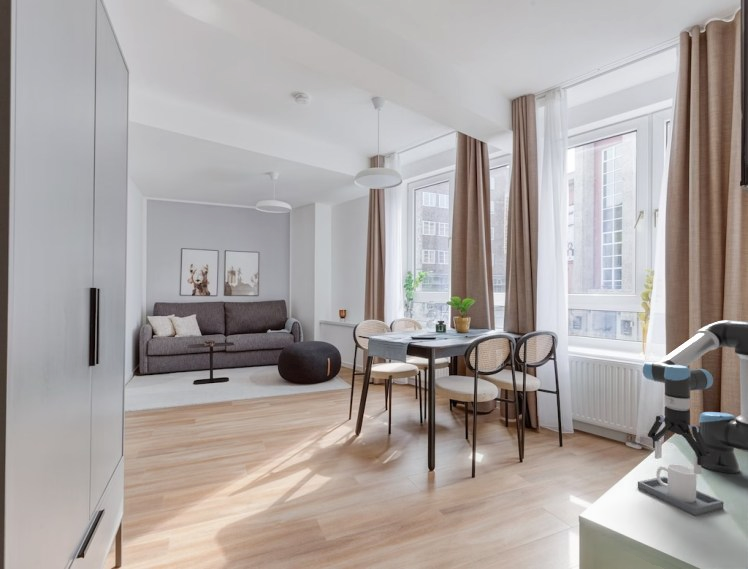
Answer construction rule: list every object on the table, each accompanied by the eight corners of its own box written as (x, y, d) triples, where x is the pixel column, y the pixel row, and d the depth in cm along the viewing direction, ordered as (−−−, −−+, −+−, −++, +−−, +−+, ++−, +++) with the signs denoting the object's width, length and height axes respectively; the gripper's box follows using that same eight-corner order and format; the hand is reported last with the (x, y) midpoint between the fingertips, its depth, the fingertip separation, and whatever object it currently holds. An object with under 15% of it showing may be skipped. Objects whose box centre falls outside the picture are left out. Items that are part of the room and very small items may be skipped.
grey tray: (664, 482, 157) (664, 476, 158) (723, 509, 139) (723, 501, 139) (637, 488, 152) (637, 481, 152) (695, 516, 133) (695, 508, 133)
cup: (691, 505, 139) (692, 476, 139) (652, 491, 149) (652, 463, 149) (699, 498, 144) (699, 470, 144) (660, 485, 154) (660, 458, 154)
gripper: (637, 399, 157) (637, 453, 157) (709, 419, 134) (709, 482, 134) (650, 398, 160) (650, 450, 160) (723, 416, 137) (723, 478, 136)
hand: (677, 465), depth 147 cm, fingers open, 13 cm apart
